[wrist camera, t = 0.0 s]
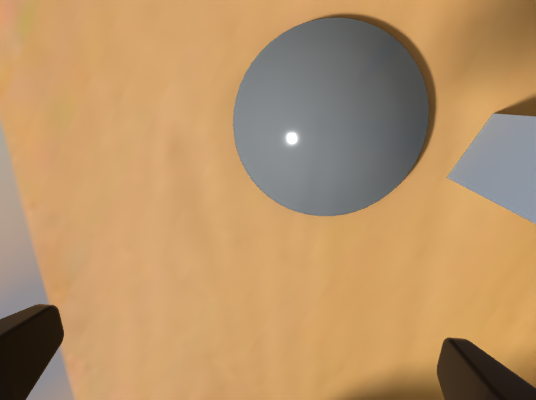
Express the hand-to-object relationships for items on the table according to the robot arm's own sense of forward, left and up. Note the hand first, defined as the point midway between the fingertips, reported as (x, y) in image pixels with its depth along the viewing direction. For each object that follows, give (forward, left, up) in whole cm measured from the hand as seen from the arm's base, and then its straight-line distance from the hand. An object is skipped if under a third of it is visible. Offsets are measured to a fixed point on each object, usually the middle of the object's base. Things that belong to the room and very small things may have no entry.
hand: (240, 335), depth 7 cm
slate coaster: (+4, -3, -15) cm, 15 cm away
